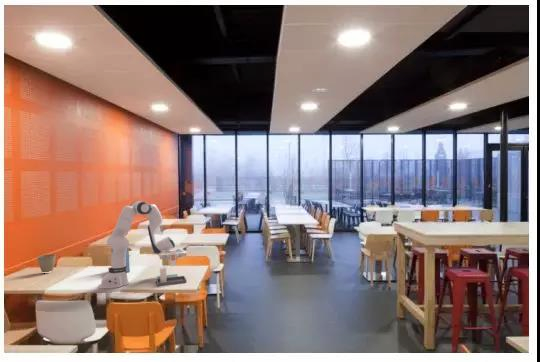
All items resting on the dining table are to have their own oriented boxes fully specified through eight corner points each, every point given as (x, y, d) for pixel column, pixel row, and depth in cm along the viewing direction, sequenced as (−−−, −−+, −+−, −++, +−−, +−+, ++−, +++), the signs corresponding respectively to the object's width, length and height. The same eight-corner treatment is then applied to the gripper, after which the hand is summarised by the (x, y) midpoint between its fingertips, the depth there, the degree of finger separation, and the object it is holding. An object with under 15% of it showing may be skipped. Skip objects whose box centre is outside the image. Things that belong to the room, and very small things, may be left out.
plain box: (160, 284, 302) (160, 268, 302) (160, 282, 307) (159, 267, 306) (166, 283, 304) (166, 268, 304) (166, 281, 308) (165, 267, 308)
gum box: (129, 271, 349) (128, 246, 349) (125, 273, 345) (124, 247, 344) (116, 269, 360) (115, 245, 360) (111, 270, 356) (110, 246, 355)
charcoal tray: (157, 286, 297) (157, 283, 297) (156, 282, 310) (156, 279, 310) (186, 282, 304) (186, 279, 304) (184, 278, 318) (184, 275, 318)
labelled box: (170, 265, 312) (169, 251, 312) (170, 264, 317) (169, 250, 316) (176, 265, 314) (175, 250, 313) (175, 264, 318) (175, 249, 318)
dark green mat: (158, 280, 314) (158, 280, 314) (157, 276, 327) (157, 276, 327) (178, 278, 319) (178, 277, 319) (176, 274, 332) (176, 274, 332)
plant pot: (50, 274, 349) (49, 257, 349) (34, 275, 349) (33, 257, 349) (60, 270, 364) (59, 253, 364) (44, 271, 364) (43, 254, 364)
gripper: (158, 251, 324) (159, 254, 311) (183, 249, 331) (185, 252, 318) (158, 259, 324) (159, 262, 311) (183, 256, 331) (185, 259, 318)
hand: (172, 257), depth 314 cm, fingers closed on labelled box, 4 cm apart
